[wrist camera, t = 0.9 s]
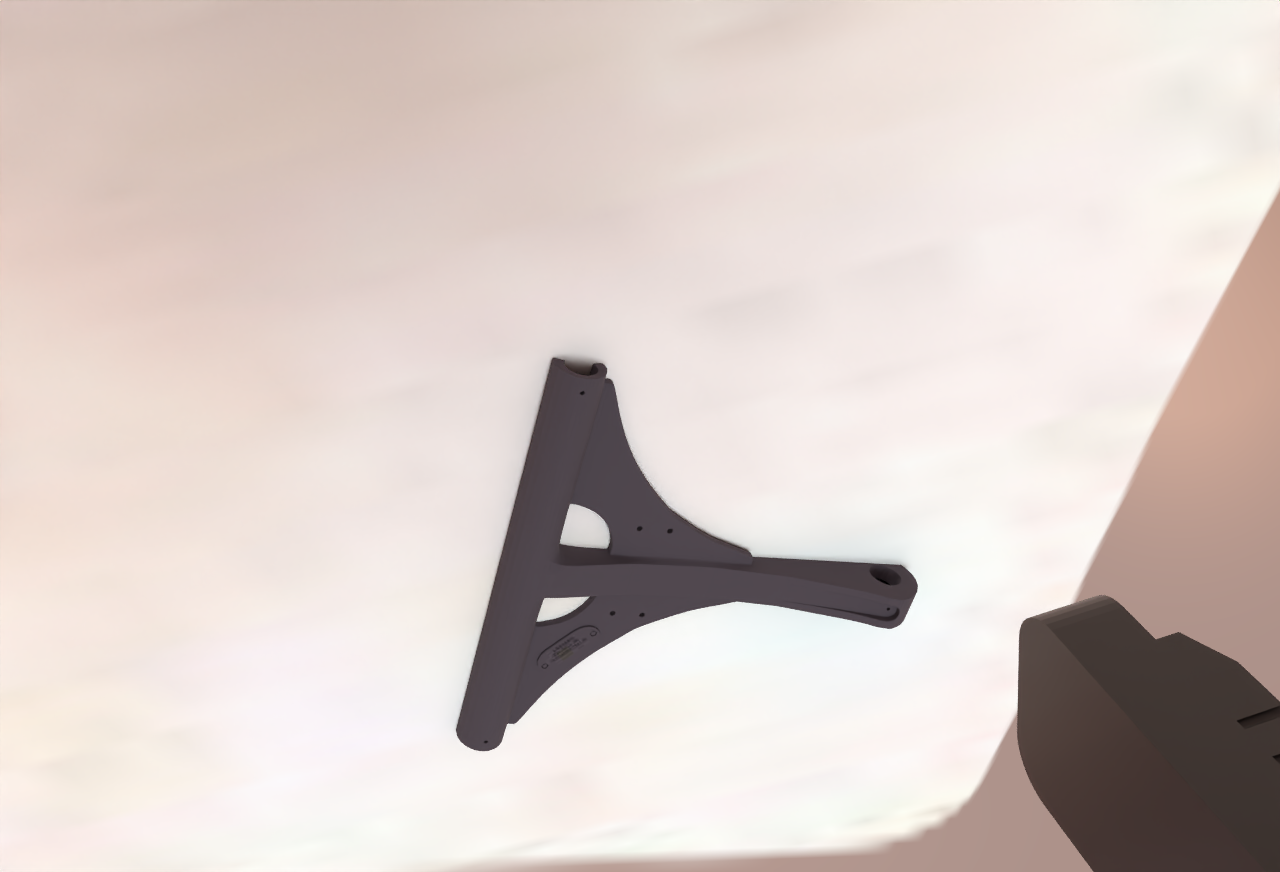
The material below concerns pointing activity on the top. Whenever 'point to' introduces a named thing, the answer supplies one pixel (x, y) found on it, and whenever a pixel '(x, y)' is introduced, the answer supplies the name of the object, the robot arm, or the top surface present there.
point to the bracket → (623, 563)
